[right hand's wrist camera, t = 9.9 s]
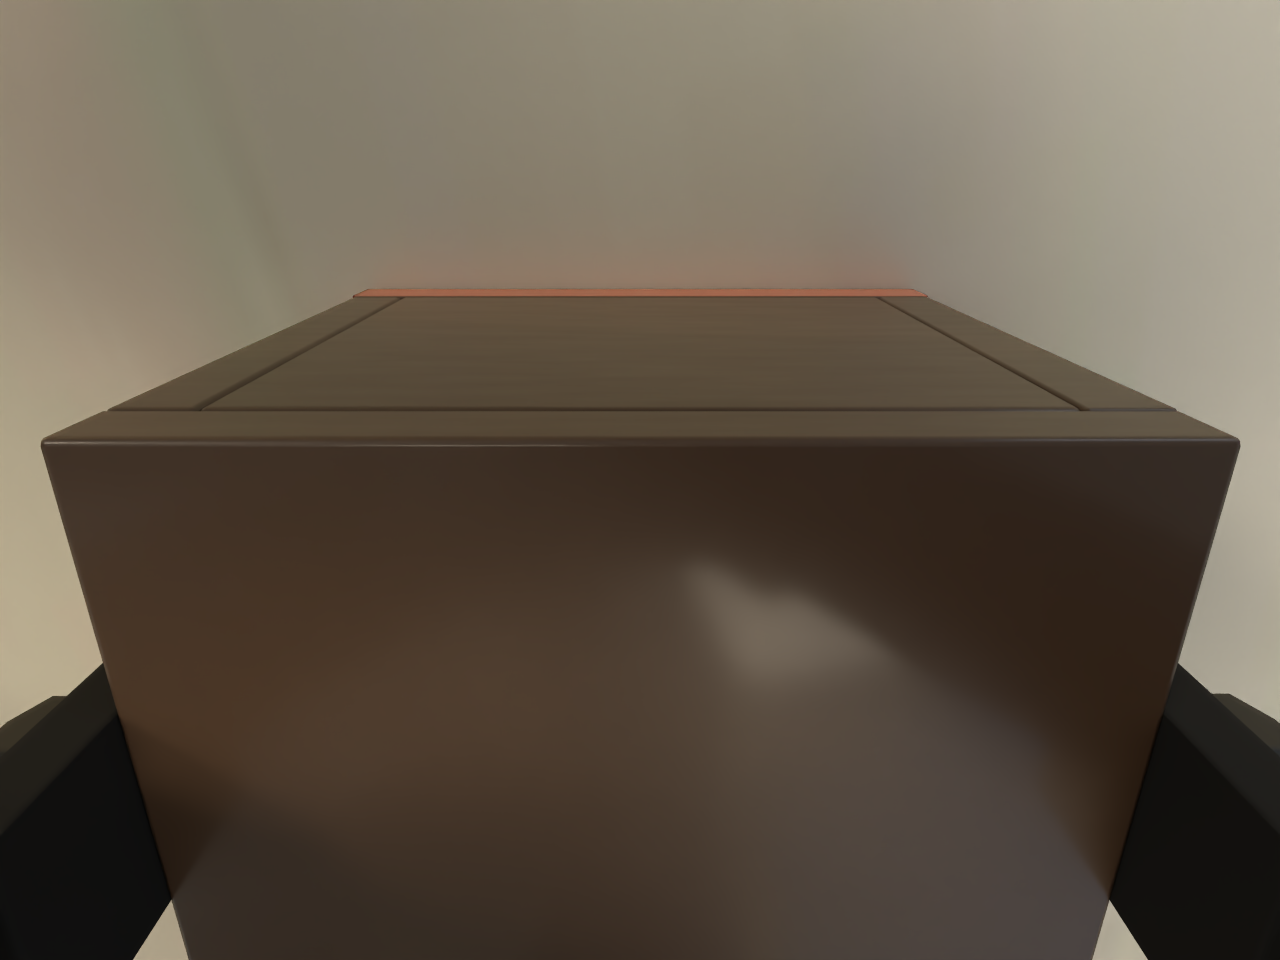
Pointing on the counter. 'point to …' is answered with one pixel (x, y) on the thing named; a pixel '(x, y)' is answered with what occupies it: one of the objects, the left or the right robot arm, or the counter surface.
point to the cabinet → (640, 627)
